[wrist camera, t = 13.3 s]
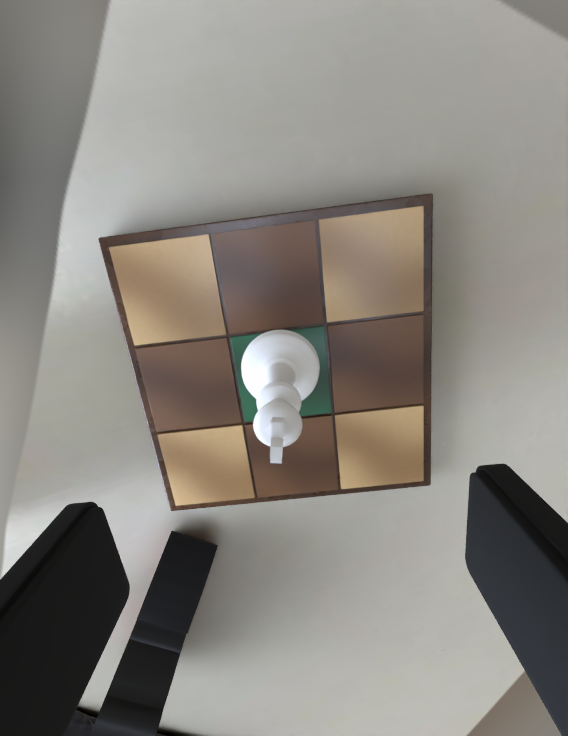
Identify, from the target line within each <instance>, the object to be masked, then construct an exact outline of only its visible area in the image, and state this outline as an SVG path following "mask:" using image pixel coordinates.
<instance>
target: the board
mask: <svg viewBox="0 0 568 736" xmlns="http://www.w3.org/2000/svg"><path fill="white" fill-rule="evenodd" d="M432 211H433V195H432V194H423V195H416V196H408V197H401V198H393V199H386V200H378V201H371V202H363V203H356V204H348V205H341V206H333V207H326V208H318V209H311V210H303V211H296V212H288V213H281V214H273V215H266V216H258V217H251V218H243V219H236V220H228V221H221V222H213V223H206V224H198V225H190V226H183V227H175V228H168V229H160V230H153V231H145V232H138V233H130V234H123V235H115V236H108V237H100V238H99V243H100V247H101V250H102V254H103V258H104V262H105V265H106V269H107V273H108V277H109V280H110V284H111V288H112V292H113V296H114V299H115V303H116V307H117V311H118V314H119V318H120V322H121V326H122V329H123V333H124V337H125V341H126V345H127V348H128V352H129V356H130V360H131V363H132V367H133V371H134V375H135V378H136V382H137V386H138V390H139V394H140V397H141V401H142V405H143V409H144V412H145V416H146V420H147V424H148V427H149V431H150V435H151V439H152V443H153V446H154V450H155V454H156V458H157V461H158V465H159V469H160V473H161V476H162V480H163V484H164V488H165V492H166V495H167V499H168V503H169V507H170V510H171V511H176V510H186V509H196V508H206V507H216V506H226V505H237V504H247V503H257V502H267V501H277V500H287V499H297V498H307V497H317V496H327V495H337V494H347V493H358V492H368V491H378V490H388V489H398V488H408V487H418V486H428V485H430V484H431V349H432ZM272 330H289V331H293V332H295V333H298V334H300V335H301V336H303V337H304V338H306V339H307V340H308V341H309V342H310V343H311V344H312V346H313V347H314V349H315V350H316V352H317V355H318V358H319V363H320V371H319V377H318V381H317V384H316V386H315V388H314V389H313V391H312V392H311V393H310V395H309V396H308V397H306V398H305V399H304V400H302V401H301V408H300V411H299V414H300V416H301V419H302V431H301V434H300V436H299V437H298V439H297V440H296V441H295V442H294V443H292V444H291V445H288V446H286V447H283V454H282V464H280V463H270V446H268V445H265V444H264V443H262V442H261V441H260V440H259V439H258V438H257V436H256V434H255V432H254V428H253V422H254V418H255V415H256V413H257V412H258V408H257V403H256V401H257V399H256V398H255V397H253V396H252V395H251V393H250V392H249V391H248V389H247V388H246V386H245V384H244V381H243V378H242V371H241V363H242V358H243V355H244V352H245V350H246V348H247V347H248V345H249V344H250V343H251V342H252V341H253V340H254V339H255V338H256V337H258V336H259V335H261V334H263V333H265V332H268V331H272Z"/></svg>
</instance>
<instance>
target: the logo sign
mask: <svg viewBox="0 0 568 736" xmlns="http://www.w3.org/2000/svg"><path fill="white" fill-rule="evenodd" d="M217 547H218V545H215V544H212V543H208V542H205V541H202V540H199V539H196V538H193V537H189V536H186V535H183V534H180V533H177V532H174V531H171V534H170V536H169V539H168V541H167V544H166V546H165V549H164V551H163V554H162V556H161V559H160V561H159V564H158V567H157V569H156V572H155V574H154V577H153V579H152V582H151V584H150V587H149V589H148V592H147V595H146V597H145V600H144V602H143V605H142V607H141V610H140V613H139V615H138V618H137V621H136V624H135V626H134V629H133V631H132V633H131V636H130V639H129V641H128V643H127V646H126V648H125V651H124V653H123V656H122V658H121V660H120V663H119V665H118V668H117V670H116V673H115V675H114V678H113V680H112V683H111V685H110V688H109V690H108V693H107V695H106V697H105V700H104V702H103V705H102V707H101V709H100V712H99V714H98V717H97V719H96V722H95V724H94V727H93V729H92V732H91V735H90V736H156V733H157V730H158V726H159V723H160V720H161V716H162V712H163V708H164V705H165V702H166V699H167V696H168V693H169V689H170V686H171V683H172V680H173V676H174V673H175V669H176V666H177V663H178V659H179V656H180V652H181V649H182V646H183V643H184V639H185V636H186V633H188V631H189V628H190V625H191V622H192V620H193V617H194V614H195V611H196V609H197V606H198V603H199V600H200V597H201V595H202V592H203V589H204V586H205V583H206V580H207V577H208V574H209V571H210V568H211V565H212V562H213V559H214V556H215V553H216V550H217Z"/></svg>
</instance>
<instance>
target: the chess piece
mask: <svg viewBox="0 0 568 736" xmlns="http://www.w3.org/2000/svg"><path fill="white" fill-rule="evenodd" d="M241 371H242V378H243V381H244V384H245V386H246V388H247V389H248V391H249V392H250V393H251V395H252V396H253V397H255V398H256V399H257V401H256V403H257V408H258V412H257V413H256V415H255V418H254V422H253V428H254V432H255V434H256V436H257V438H258V439H259V440H260V441H261V442H262V443H264V444H265V445H268V446H270V463H280V464H282V454H283V447H286V446H288V445H291V444H292V443H294V442H295V441H296V440H297V439H298V437H299V436H300V434H301V431H302V419H301V416H300V414H299V411H300V408H301V401H302V400H304V399H305V398H306V397H308V396H309V395H310V393H311V392H312V391H313V389H314V388H315V386H316V384H317V381H318V377H319V371H320V363H319V358H318V355H317V352H316V350H315V349H314V347H313V346H312V344H311V343H310V342H309V341H308V340H307V339H306V338H304V337H303V336H301V335H300V334H298V333H295V332H293V331H289V330H272V331H268V332H265V333H263V334H261V335H259V336H258V337H256V338H255V339H254V340H253V341H252V342H251V343H250V344H249V345H248V347H247V348H246V350H245V352H244V355H243V358H242V363H241Z"/></svg>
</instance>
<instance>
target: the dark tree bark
mask: <svg viewBox="0 0 568 736" xmlns="http://www.w3.org/2000/svg"><path fill="white" fill-rule="evenodd" d="M96 719H97V718H94V717H91V716H89V715H87V714H85V713H82V712H80V711H79V710H75V712H74V714H73V716H72V719H71V721H70V723H69V725H68V727H67V729H66V731H65V733H64V736H90V735H91V732H92V729H93V727H94V724H95V722H96ZM156 736H167V735H163V734H157V733H156Z"/></svg>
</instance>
